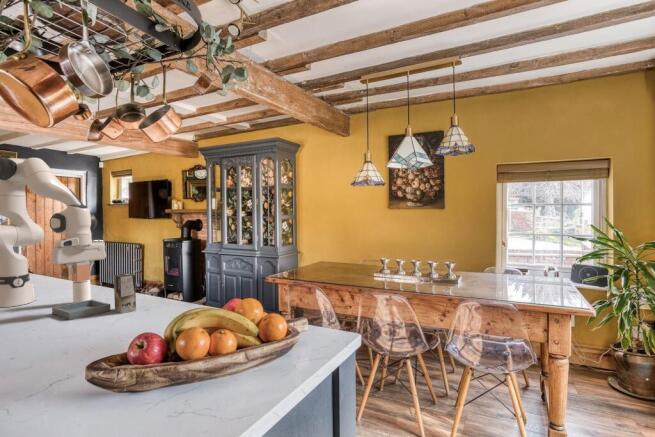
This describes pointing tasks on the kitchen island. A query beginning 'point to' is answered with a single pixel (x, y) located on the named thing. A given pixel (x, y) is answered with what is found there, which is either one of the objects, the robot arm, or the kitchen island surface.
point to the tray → (80, 309)
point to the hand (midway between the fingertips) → (80, 272)
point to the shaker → (81, 271)
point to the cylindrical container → (81, 291)
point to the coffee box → (125, 292)
